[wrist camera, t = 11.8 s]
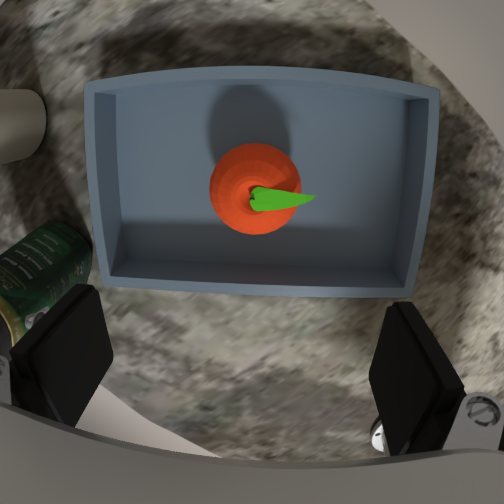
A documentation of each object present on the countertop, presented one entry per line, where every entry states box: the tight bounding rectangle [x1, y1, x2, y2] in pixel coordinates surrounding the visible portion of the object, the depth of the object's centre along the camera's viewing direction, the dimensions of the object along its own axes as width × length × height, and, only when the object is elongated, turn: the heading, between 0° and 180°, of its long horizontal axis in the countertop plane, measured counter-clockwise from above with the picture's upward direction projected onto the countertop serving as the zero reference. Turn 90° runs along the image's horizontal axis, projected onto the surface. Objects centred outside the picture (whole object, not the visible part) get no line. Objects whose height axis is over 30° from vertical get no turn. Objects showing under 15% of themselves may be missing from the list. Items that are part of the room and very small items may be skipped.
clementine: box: [209, 143, 317, 235], centre depth 24 cm, size 8×7×7 cm
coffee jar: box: [0, 220, 92, 362], centre depth 24 cm, size 10×8×19 cm
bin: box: [84, 66, 440, 298], centre depth 26 cm, size 28×18×5 cm, turn 89°
